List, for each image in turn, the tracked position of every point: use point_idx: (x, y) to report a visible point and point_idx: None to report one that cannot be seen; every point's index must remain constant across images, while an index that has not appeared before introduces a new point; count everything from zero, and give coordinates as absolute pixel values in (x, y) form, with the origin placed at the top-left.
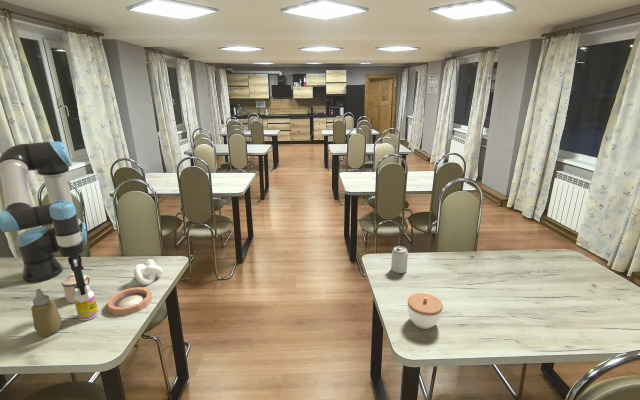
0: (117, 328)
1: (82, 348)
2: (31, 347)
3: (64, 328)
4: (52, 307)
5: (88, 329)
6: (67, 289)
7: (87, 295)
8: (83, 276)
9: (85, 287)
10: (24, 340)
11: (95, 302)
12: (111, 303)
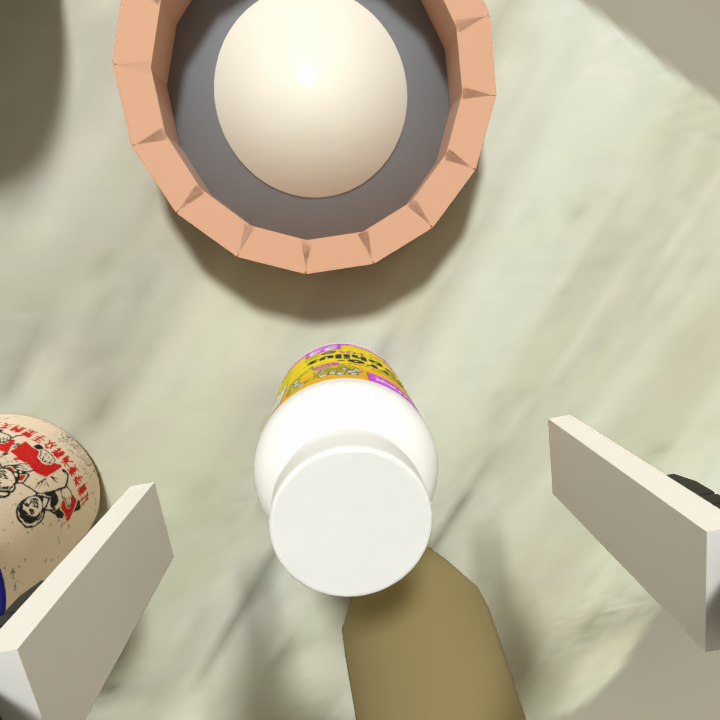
0: (605, 214)
1: (684, 404)
2: (509, 641)
3: None
4: (497, 705)
5: (506, 389)
6: None
7: (607, 446)
8: (87, 565)
9: (708, 509)
10: None
11: (359, 362)
12: (333, 242)
